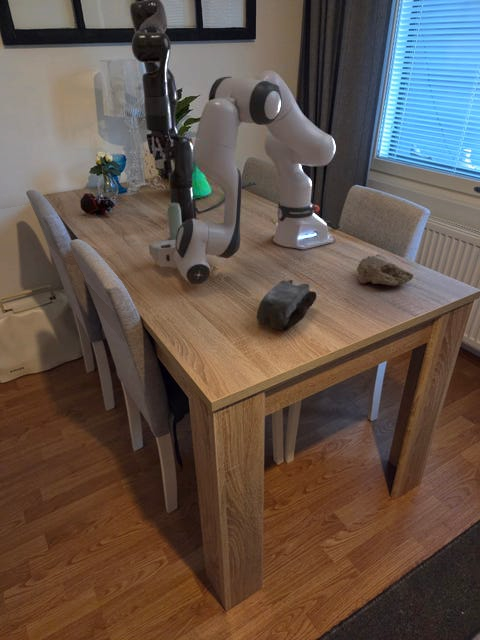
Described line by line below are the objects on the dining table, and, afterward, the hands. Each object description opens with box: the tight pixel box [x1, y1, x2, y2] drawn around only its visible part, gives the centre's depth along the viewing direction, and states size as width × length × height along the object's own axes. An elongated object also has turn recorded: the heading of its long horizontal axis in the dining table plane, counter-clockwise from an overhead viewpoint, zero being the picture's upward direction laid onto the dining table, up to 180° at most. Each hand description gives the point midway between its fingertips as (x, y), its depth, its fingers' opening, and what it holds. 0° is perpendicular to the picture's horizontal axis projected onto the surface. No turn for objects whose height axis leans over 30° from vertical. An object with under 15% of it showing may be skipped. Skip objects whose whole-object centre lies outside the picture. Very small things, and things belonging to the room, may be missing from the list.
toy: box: [79, 192, 117, 218], centre depth 189 cm, size 12×9×15 cm
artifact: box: [356, 254, 414, 286], centre depth 138 cm, size 18×7×15 cm
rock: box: [256, 279, 317, 332], centre depth 117 cm, size 18×11×8 cm, turn 152°
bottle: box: [167, 202, 182, 240], centre depth 149 cm, size 4×4×18 cm
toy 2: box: [168, 137, 212, 200], centre depth 210 cm, size 20×20×25 cm
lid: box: [154, 158, 173, 170], centre depth 140 cm, size 5×5×2 cm
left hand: (163, 170), depth 141 cm, fingers closed on lid, 5 cm apart
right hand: (175, 238), depth 151 cm, fingers closed on bottle, 4 cm apart
